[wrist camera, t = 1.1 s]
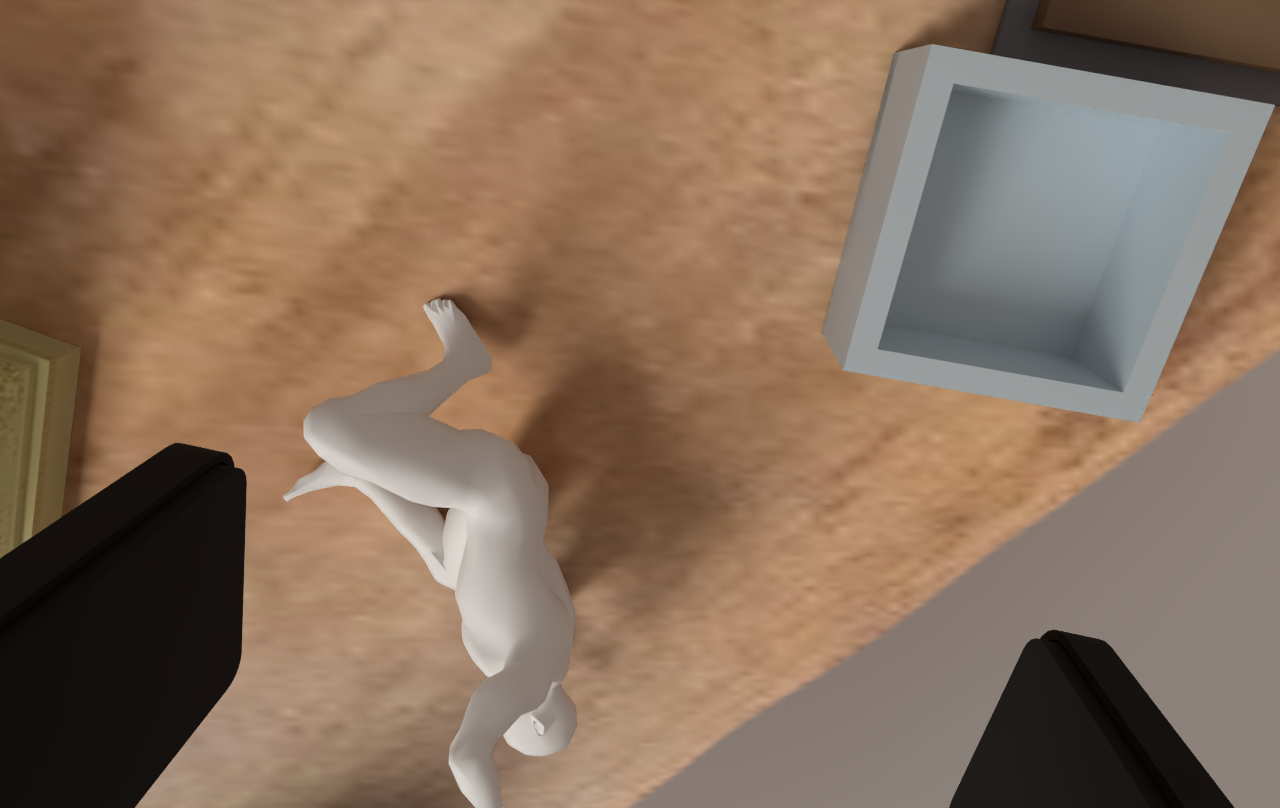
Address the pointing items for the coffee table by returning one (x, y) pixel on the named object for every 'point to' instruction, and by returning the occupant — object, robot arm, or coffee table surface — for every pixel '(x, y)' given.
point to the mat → (1127, 60)
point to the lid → (1174, 27)
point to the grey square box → (1034, 228)
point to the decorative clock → (33, 430)
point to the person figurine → (465, 543)
